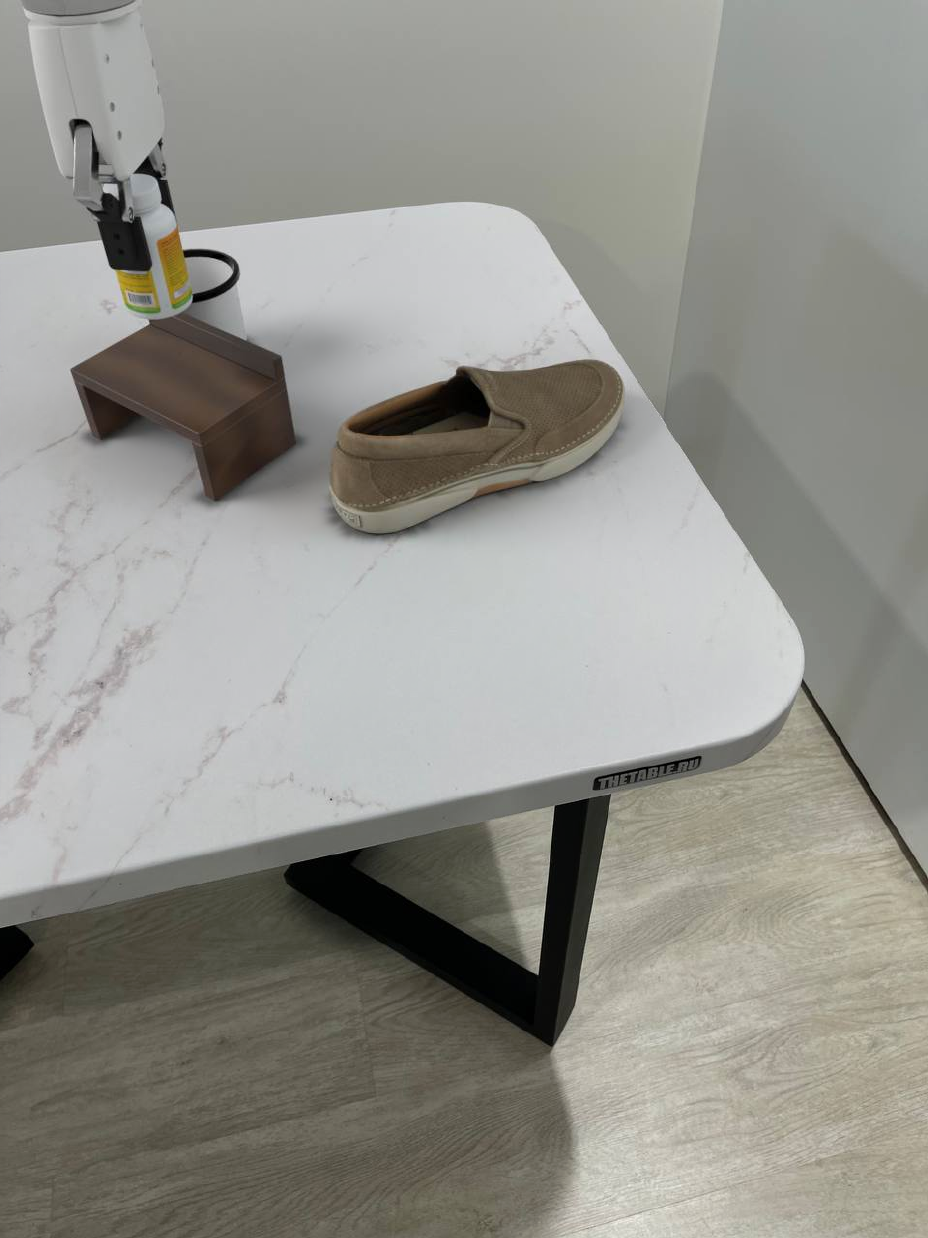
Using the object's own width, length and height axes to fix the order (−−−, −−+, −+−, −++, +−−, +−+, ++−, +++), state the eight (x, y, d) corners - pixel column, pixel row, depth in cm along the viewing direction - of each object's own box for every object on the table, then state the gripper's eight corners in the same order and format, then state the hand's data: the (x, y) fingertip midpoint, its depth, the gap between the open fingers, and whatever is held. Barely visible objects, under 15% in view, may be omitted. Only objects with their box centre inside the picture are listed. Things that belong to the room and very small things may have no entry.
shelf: (215, 501, 86) (193, 413, 79) (92, 435, 92) (62, 348, 86) (296, 442, 91) (281, 355, 85) (174, 384, 98) (152, 299, 91)
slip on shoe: (585, 378, 98) (592, 293, 91) (658, 438, 91) (671, 351, 85) (306, 480, 88) (292, 393, 81) (365, 556, 81) (355, 467, 74)
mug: (262, 372, 99) (247, 287, 92) (165, 391, 97) (142, 305, 90) (241, 312, 107) (226, 229, 100) (151, 328, 105) (129, 244, 98)
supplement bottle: (183, 281, 84) (157, 163, 77) (201, 311, 81) (175, 190, 74) (119, 296, 83) (85, 177, 76) (134, 327, 79) (101, 205, 72)
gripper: (71, -56, 71) (135, 198, 85) (-38, 23, 60) (56, 303, 73) (174, -54, 71) (222, 201, 84) (85, 26, 59) (157, 308, 72)
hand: (144, 246), depth 78 cm, fingers closed on supplement bottle, 5 cm apart
